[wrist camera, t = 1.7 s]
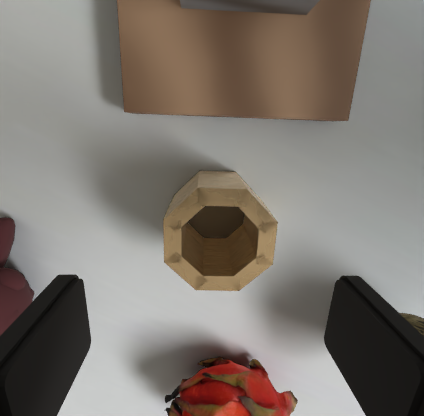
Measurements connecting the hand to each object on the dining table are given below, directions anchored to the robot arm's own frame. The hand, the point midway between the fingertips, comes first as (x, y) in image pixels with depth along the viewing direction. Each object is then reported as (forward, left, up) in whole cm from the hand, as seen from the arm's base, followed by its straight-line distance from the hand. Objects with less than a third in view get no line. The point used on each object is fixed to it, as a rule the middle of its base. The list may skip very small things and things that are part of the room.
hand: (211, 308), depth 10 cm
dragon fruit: (-3, +17, -11) cm, 21 cm away
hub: (-1, 0, -11) cm, 11 cm away
